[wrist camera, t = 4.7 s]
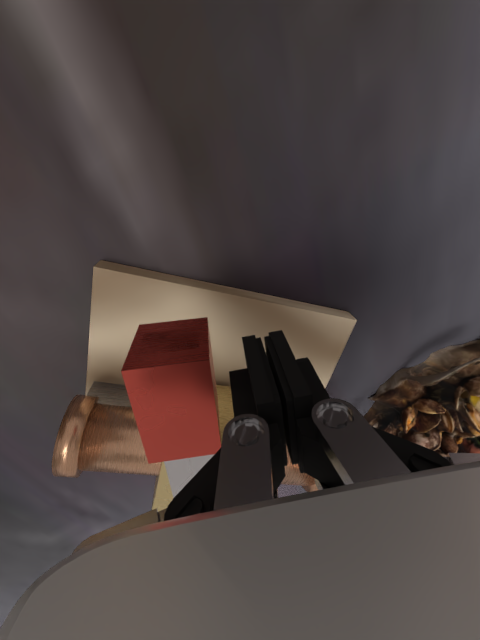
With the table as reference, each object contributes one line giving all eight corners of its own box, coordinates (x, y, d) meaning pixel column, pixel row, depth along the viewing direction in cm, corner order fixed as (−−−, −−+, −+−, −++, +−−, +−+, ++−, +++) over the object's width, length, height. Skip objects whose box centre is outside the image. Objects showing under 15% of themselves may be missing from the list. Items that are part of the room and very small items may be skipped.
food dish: (509, 229, 23) (645, 252, 16) (634, 404, 36) (742, 460, 29) (232, 501, 32) (244, 591, 25) (409, 566, 45) (450, 639, 38)
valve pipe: (298, 447, 27) (328, 534, 21) (83, 426, 23) (38, 525, 17) (322, 395, 25) (365, 475, 18) (87, 362, 21) (37, 448, 15)
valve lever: (232, 506, 18) (238, 577, 15) (187, 513, 18) (185, 586, 15) (207, 311, 12) (209, 360, 9) (141, 318, 12) (120, 371, 9)
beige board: (283, 456, 30) (287, 470, 29) (87, 439, 26) (81, 454, 25) (348, 311, 23) (356, 320, 22) (100, 259, 20) (93, 266, 18)
